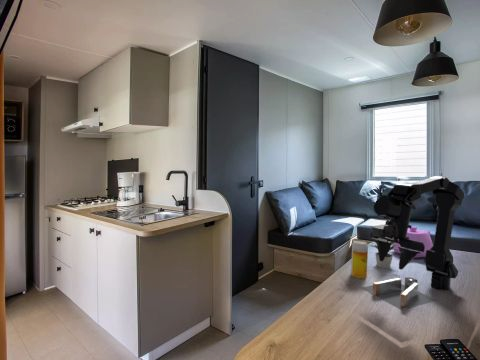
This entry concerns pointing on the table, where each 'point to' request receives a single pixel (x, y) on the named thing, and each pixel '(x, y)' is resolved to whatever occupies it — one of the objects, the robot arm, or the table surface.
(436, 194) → the robot arm
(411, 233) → the teapot
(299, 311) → the table surface
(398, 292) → the charcoal mat
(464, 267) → the table surface
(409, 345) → the table surface
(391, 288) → the arm
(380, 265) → the house plant
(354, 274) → the beer can
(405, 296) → the tongs hinged arm
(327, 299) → the table surface
